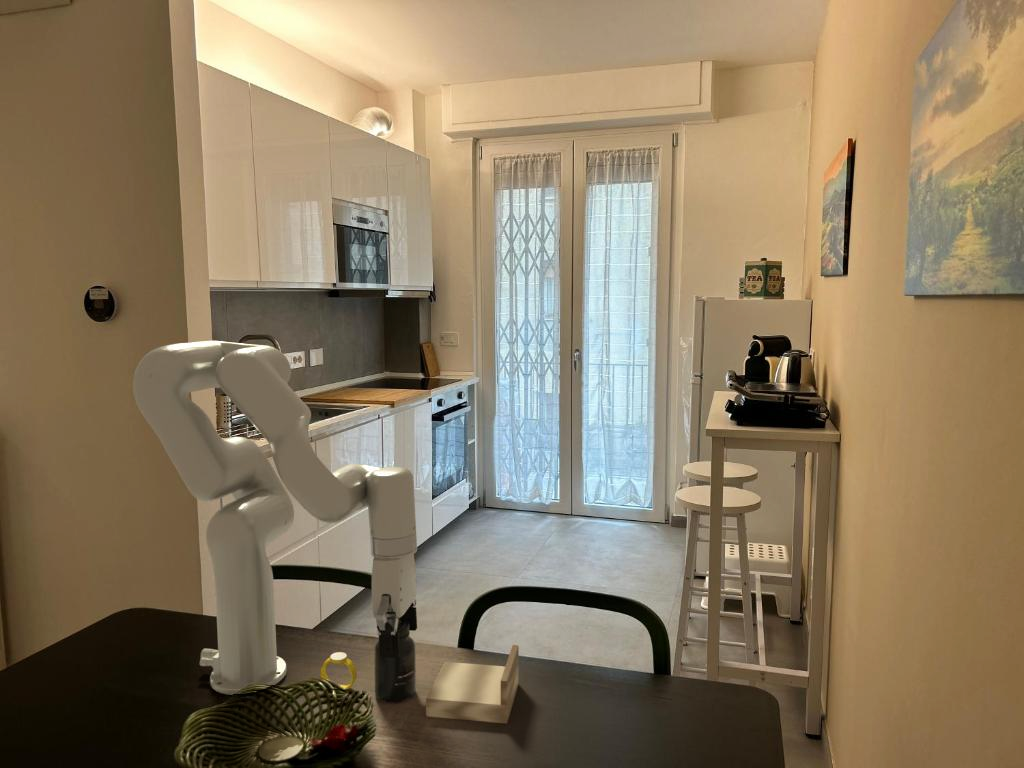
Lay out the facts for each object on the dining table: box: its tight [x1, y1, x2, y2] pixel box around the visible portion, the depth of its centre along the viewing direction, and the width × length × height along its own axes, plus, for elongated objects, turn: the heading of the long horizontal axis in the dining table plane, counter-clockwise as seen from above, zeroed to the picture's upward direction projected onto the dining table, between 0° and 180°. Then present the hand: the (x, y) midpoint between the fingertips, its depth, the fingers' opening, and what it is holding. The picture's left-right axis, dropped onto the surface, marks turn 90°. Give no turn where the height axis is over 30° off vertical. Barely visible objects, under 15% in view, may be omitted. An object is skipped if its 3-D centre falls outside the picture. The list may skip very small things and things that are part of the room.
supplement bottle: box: [373, 619, 417, 703], centre depth 125 cm, size 7×7×12 cm
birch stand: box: [425, 644, 520, 724], centre depth 123 cm, size 13×12×7 cm
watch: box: [320, 651, 357, 690], centre depth 127 cm, size 6×3×6 cm, turn 78°
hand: (399, 642), depth 124 cm, fingers open, 9 cm apart
